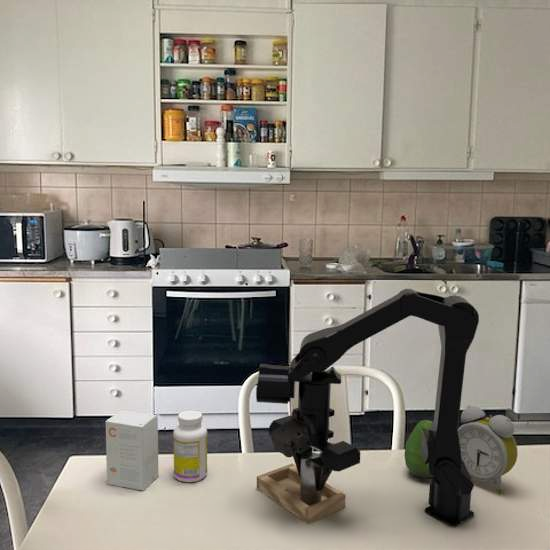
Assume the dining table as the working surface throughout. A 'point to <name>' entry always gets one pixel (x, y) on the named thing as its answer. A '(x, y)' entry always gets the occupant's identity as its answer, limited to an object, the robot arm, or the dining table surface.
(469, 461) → the alarm clock
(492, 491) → the dining table surface
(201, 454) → the supplement bottle
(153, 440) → the small box
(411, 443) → the avocado
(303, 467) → the grey metal peg
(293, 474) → the light brown wooden tray
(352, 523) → the dining table surface
